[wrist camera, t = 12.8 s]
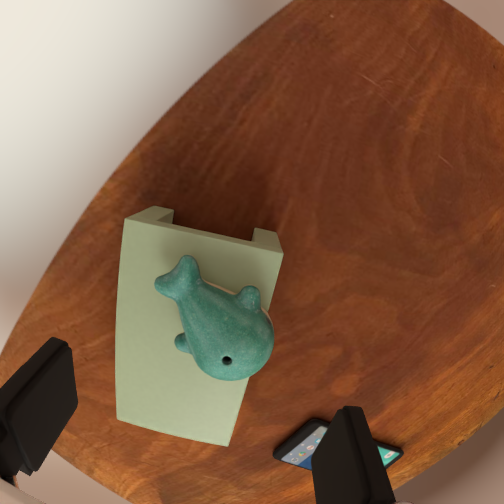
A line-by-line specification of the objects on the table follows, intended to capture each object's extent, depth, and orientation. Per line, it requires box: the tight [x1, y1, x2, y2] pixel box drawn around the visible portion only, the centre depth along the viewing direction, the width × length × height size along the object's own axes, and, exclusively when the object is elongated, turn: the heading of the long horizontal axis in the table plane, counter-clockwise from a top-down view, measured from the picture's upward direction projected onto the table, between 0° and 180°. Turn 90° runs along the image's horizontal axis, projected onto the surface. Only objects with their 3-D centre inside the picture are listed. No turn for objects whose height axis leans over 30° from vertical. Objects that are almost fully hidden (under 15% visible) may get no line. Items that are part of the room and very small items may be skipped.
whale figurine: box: [154, 254, 274, 381], centre depth 16 cm, size 6×7×4 cm
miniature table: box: [115, 206, 283, 446], centre depth 22 cm, size 16×9×6 cm, turn 167°
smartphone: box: [273, 419, 404, 471], centre depth 28 cm, size 7×1×15 cm
